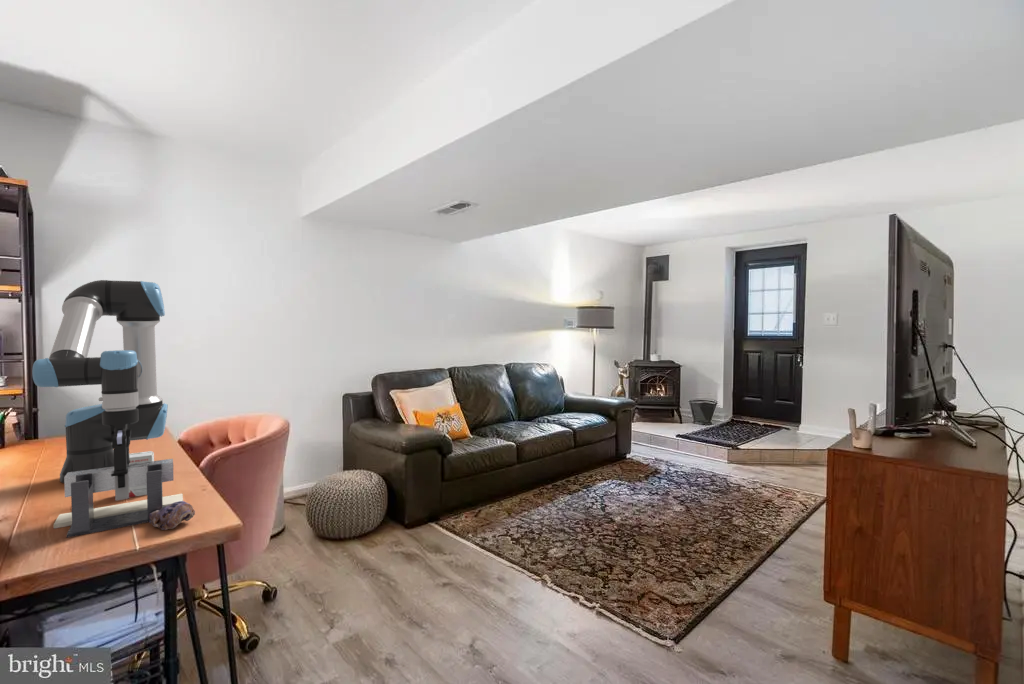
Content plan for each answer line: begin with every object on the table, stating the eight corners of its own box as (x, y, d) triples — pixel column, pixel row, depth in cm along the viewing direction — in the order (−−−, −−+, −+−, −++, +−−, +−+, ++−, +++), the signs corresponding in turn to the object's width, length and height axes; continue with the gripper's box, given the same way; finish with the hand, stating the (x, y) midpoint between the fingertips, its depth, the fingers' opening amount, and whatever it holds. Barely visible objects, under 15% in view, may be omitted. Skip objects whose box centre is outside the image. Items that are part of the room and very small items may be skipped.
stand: (72, 526, 118) (70, 475, 118) (167, 508, 129) (166, 462, 129) (66, 537, 111) (64, 484, 111) (167, 518, 122) (166, 469, 122)
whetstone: (68, 491, 123) (67, 472, 123) (173, 476, 136) (172, 458, 136) (64, 497, 119) (64, 477, 119) (173, 480, 132) (173, 462, 132)
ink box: (116, 499, 137) (115, 458, 136) (118, 494, 141) (117, 454, 140) (153, 493, 141) (152, 454, 141) (154, 489, 145) (153, 450, 145)
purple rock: (140, 526, 118) (139, 501, 118) (173, 515, 125) (173, 492, 125) (167, 535, 113) (167, 509, 112) (201, 523, 119) (200, 499, 119)
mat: (59, 518, 123) (59, 514, 123) (182, 496, 138) (182, 493, 138) (53, 528, 117) (53, 524, 117) (183, 505, 132) (183, 501, 132)
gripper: (105, 406, 132) (108, 490, 133) (97, 414, 117) (100, 509, 118) (140, 403, 136) (142, 484, 137) (136, 411, 122) (139, 502, 122)
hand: (123, 496), depth 127 cm, fingers closed on whetstone, 5 cm apart
